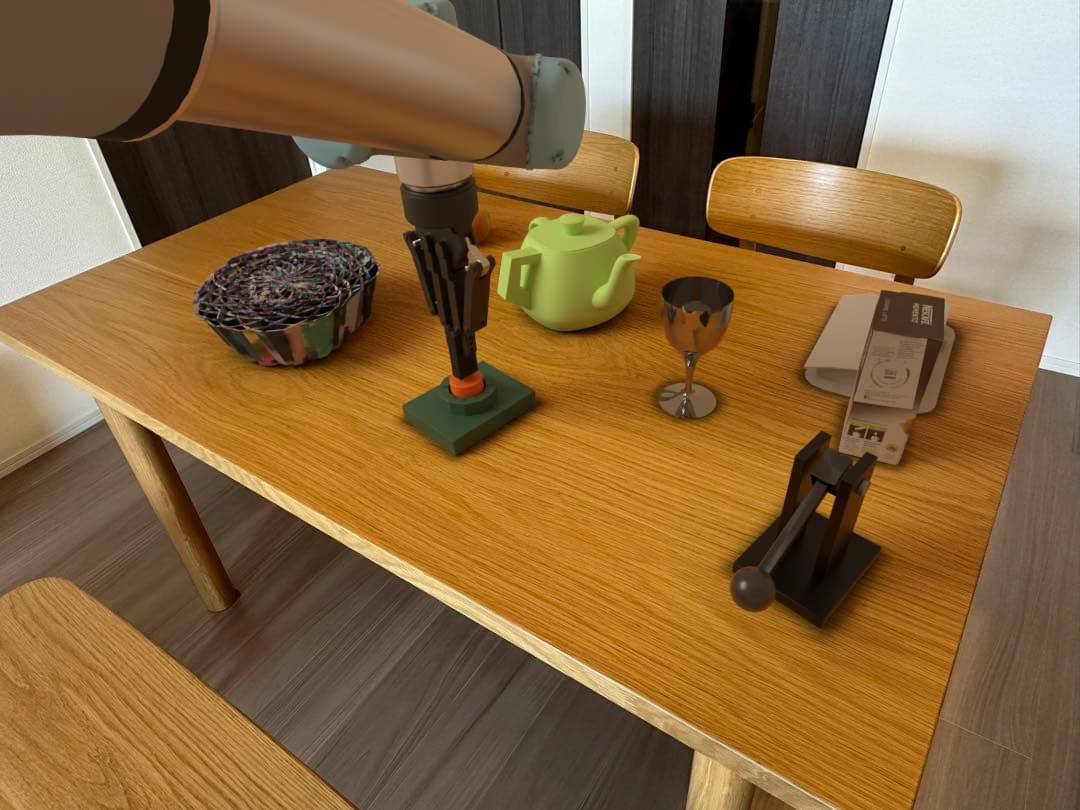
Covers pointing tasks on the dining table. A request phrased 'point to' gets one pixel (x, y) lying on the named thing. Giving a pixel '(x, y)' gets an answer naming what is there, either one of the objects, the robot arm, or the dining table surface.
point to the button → (467, 385)
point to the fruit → (481, 224)
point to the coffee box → (893, 374)
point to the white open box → (845, 344)
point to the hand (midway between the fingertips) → (465, 372)
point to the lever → (788, 535)
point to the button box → (469, 409)
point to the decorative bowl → (290, 299)
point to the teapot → (572, 270)
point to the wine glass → (693, 337)
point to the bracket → (819, 540)
